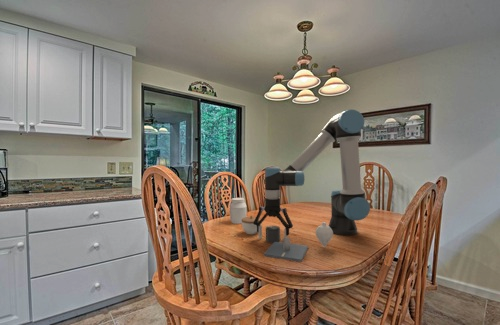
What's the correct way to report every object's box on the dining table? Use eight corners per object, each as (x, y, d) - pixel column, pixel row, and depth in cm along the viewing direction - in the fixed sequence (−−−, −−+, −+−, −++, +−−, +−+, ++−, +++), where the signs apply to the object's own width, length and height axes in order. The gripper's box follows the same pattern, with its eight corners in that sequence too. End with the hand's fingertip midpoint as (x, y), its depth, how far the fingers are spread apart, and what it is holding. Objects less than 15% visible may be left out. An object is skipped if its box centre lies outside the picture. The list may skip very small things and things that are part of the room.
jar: (247, 223, 155) (247, 199, 155) (233, 224, 152) (232, 200, 152) (243, 218, 166) (242, 197, 166) (229, 220, 163) (229, 197, 163)
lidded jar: (265, 232, 136) (264, 215, 135) (252, 237, 128) (251, 219, 128) (250, 228, 143) (250, 212, 143) (237, 233, 135) (237, 216, 135)
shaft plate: (308, 247, 112) (307, 234, 111) (301, 261, 97) (301, 247, 97) (274, 243, 118) (274, 231, 118) (263, 256, 103) (263, 242, 103)
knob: (281, 239, 124) (281, 225, 124) (277, 243, 118) (277, 229, 118) (268, 237, 127) (268, 224, 126) (264, 241, 120) (264, 227, 120)
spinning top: (323, 252, 106) (323, 225, 106) (312, 246, 113) (312, 221, 113) (336, 249, 109) (336, 223, 109) (325, 244, 116) (325, 219, 116)
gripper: (298, 198, 120) (298, 240, 121) (252, 195, 130) (252, 235, 130) (295, 200, 114) (295, 245, 114) (246, 197, 123) (247, 239, 123)
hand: (272, 240), depth 122 cm, fingers open, 13 cm apart
